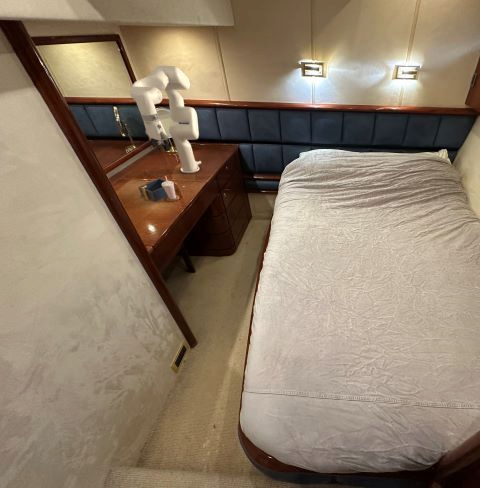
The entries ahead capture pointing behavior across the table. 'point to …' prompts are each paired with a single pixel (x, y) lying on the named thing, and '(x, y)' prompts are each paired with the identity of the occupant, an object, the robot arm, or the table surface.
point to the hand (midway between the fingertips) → (161, 148)
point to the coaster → (172, 199)
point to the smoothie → (169, 188)
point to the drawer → (153, 190)
